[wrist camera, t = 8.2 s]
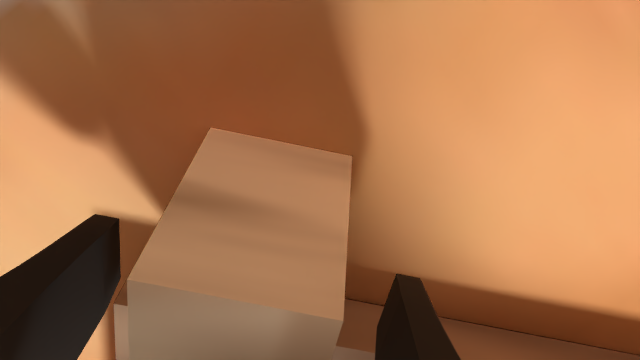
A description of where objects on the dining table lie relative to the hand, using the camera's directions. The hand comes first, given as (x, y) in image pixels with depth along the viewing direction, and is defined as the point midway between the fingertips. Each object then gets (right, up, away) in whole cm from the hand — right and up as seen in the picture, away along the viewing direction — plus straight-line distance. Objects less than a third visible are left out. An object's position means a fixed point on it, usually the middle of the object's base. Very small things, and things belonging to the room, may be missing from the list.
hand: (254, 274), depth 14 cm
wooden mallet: (-1, -2, +5) cm, 5 cm away
